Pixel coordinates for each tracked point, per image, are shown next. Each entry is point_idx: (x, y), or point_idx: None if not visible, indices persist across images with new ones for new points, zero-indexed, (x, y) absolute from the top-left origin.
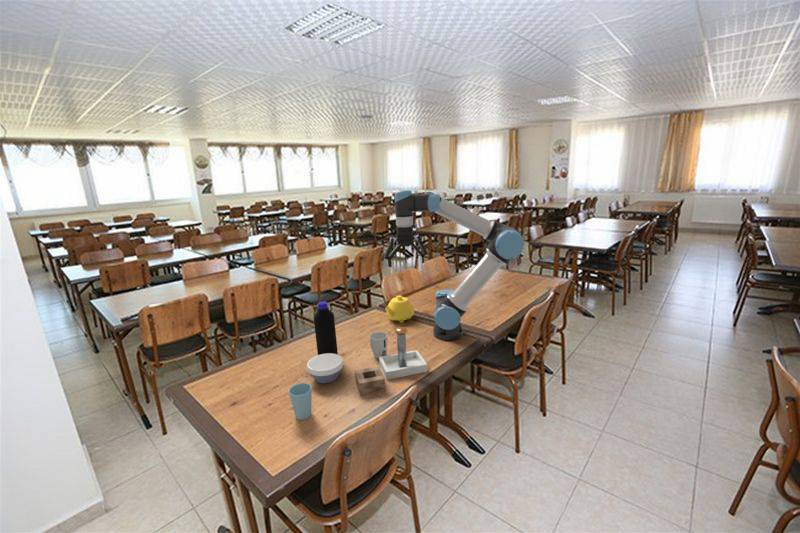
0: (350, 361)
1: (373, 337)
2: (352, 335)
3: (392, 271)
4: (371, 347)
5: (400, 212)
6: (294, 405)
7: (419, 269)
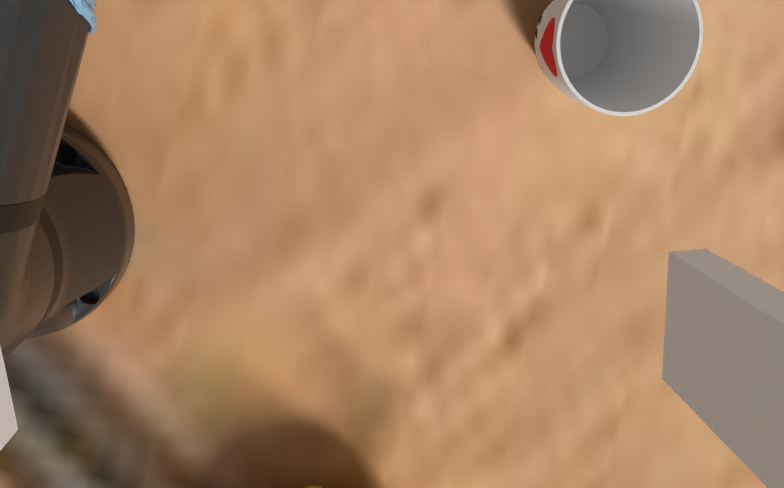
0: (769, 21)
1: (643, 97)
2: None
3: (732, 271)
4: (657, 28)
5: None
6: None
7: (5, 402)
